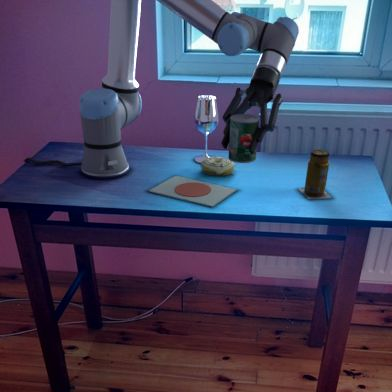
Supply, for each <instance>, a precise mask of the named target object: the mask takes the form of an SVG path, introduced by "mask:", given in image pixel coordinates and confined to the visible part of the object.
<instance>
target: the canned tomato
mask: <svg viewBox="0 0 392 392" xmlns="http://www.w3.org/2000/svg"><path fill="white" fill-rule="evenodd" d="M230 119H231V120H230V139H229V144H228V158H227V159H229V160H230V161H232V162H233V163H237V164H250V163H254V162H255V161H256V160H257V150H258V149H257V147H258V146H257V147H256V150H255V152H254V154H251V153H250V151H249V146H250V144H251V142H252V139H253V137H254V134H255V132H256V129H257V127H260V117H259V116H257V115H254V114H249V113H244V114H237V115H233V116H231V117H230Z"/></svg>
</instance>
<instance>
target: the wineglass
mask: <svg viewBox="0 0 392 392" xmlns="http://www.w3.org/2000/svg"><path fill="white" fill-rule="evenodd" d="M194 113H195V114H194V125H195V128H196V130H197V131H198V132H199V133H201V134H203V135H204V155H199V156H196V157H195V158H194V161H195V162H196V163H199V164H201V161H202V160H204V159H206V158H209V157H213V156H212V155H209V154H208V137H209V135H210V134H212V133H213V132H214V131H216V129H217V128H218V126H219V110H218V103H217V98H216V96H215V95H209V94H206V95H205V94H204V95H199V96H198V98H197V102H196V106H195V112H194Z"/></svg>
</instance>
